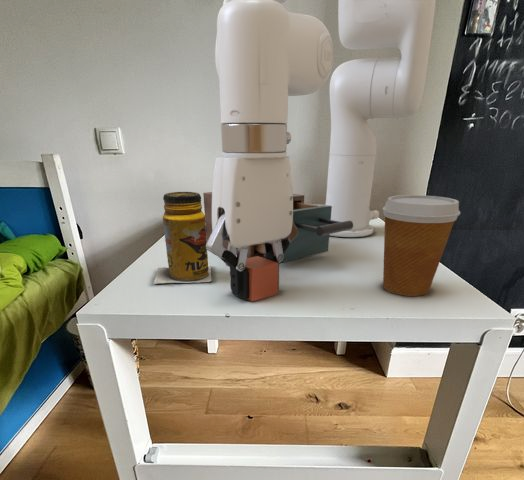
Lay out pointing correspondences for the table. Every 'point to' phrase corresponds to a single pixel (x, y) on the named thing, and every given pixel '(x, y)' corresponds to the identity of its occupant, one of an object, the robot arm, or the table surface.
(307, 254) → the drawer
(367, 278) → the table surface
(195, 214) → the condiment
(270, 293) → the block
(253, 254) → the cabinet
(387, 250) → the disposable coffee cup
